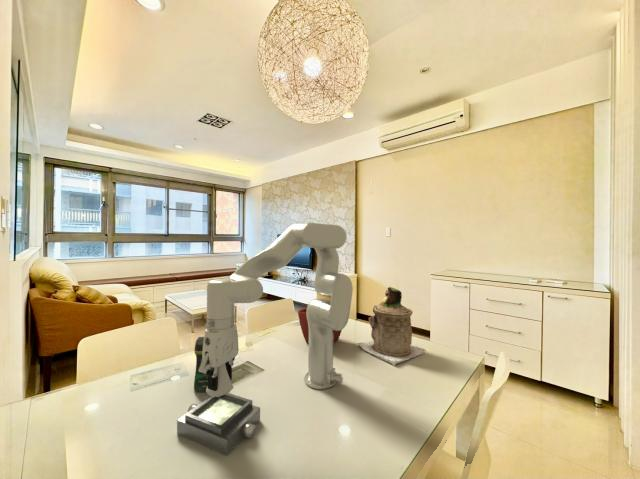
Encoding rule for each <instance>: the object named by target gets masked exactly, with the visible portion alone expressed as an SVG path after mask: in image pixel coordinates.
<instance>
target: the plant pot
mask: <svg viewBox="0 0 640 479" xmlns="http://www.w3.org/2000/svg"><path fill="white" fill-rule="evenodd" d="M306 312H307V307H305V308H303V309H300V310H298V311H297V315H298V322H299V326H300V328H301V333H302V335H303V339H304V340H305V342H306V343H307V344H309V327H308V321H307V314H306ZM342 330H343V329H342ZM342 330H339V331H335V330H332V331H333V344H335V343H337V342H338V341H339V339H340V336H341V333H342Z"/></svg>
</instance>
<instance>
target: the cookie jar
mask: <svg viewBox="0 0 640 479" xmlns="http://www.w3.org/2000/svg"><path fill="white" fill-rule="evenodd" d="M384 295H385V297H386V299H385V300H383V301H382V302H380V303H379V304H374V306H373V308H372V312H373V315H372V316H370V317H368V322H369V326H370V328H371V334H370V336H371V338H372V339H370V340H366V341H363V342H357V343H356V345H358V346H359V347H360V348H361V349H362V351H364V352H366V353H369V354H371V355H373V356H374V357H377V358H379V359H381V360H383V361H385V362H387V363H389V364H391V365H392V366H396V364H400V363H402V362H406V361H408V360H410V359H413V358H416V357H418V356H422V355H425V354H426V351H427V350H426V349H425V348H422V347H420V346H416V345H414V344H412V339H413V338H412V337H413V330H412V329H413V328H412V320H411V317H412V314H413V310H412V309H410V308H409V307H407V306H404V305H402V303H401V302H402V298H403V297H402V296H403V293H402V291H401V290H399V289H397V288H394V287H392V286H389V287H387V289H386V290H385V292H384Z"/></svg>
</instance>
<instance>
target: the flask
mask: <svg viewBox="0 0 640 479" xmlns="http://www.w3.org/2000/svg"><path fill="white" fill-rule="evenodd" d="M216 376H218V389H217V391H213V390H210V389H208V386H207V389H206V394H207V396H208V397H210V396H214V397H220V396H222V395H225V394H228V393H230V392H231V391H232V390H233V389H234V385H233V383H232V380H230V378H229V375H228V372H227V370H226V365H225V364H223V365H221V366H220V367H218V369H217V374H216Z"/></svg>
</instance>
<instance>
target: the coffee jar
mask: <svg viewBox="0 0 640 479" xmlns="http://www.w3.org/2000/svg"><path fill="white" fill-rule="evenodd" d="M203 341H204V336H198V337H197V338H196V340H195V345H194V349H193V350H194V354H195V358H196V359H195V361H196V363H195V364H196V365H195V372H194V374H195V375H194V381H193V390H194V391H195V392H197V393H205V392H206V389H207V386H208V376H206V375H205V374H204V373H202V372H199V371H198V370H199V367H200V365H201V363H202V361H203V360H202V352H203ZM211 371H213V367H211ZM206 393H207V392H206Z"/></svg>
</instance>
